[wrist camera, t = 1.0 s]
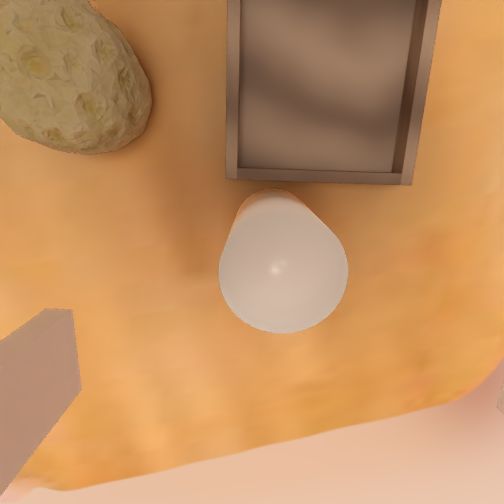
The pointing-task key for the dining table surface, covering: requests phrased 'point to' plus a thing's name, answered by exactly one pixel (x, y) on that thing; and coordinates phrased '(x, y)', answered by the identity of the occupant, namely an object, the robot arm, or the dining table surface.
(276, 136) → the tray
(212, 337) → the dining table surface
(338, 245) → the white rounded tapered cylinder
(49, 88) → the decorative item
